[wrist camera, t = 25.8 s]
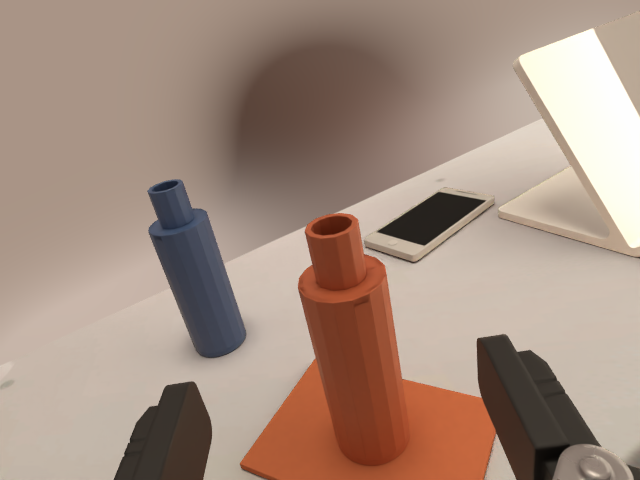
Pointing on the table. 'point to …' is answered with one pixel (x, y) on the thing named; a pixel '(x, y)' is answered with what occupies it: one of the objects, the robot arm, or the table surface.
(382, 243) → the smartphone
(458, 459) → the terracotta mat
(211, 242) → the blue bottle
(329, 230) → the terracotta bottle
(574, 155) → the tablet stand
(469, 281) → the table surface
